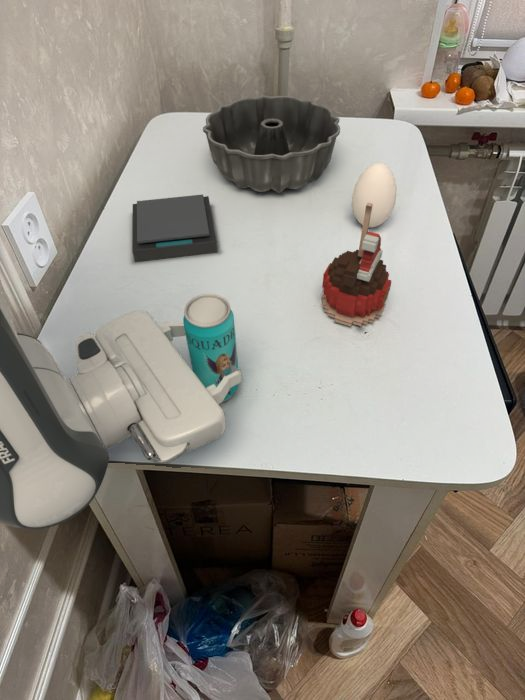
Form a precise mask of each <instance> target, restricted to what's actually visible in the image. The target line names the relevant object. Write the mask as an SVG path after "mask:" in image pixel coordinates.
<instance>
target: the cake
mask: <svg viewBox="0 0 525 700" xmlns="http://www.w3.org/2000/svg"><path fill="white" fill-rule="evenodd" d="M372 205H373V204H371V203H367V205H366V209H365V215H364V221H363V225H362V227H361V233H360V241H359V247H358V249H356V250H354V251H350V250H346V251H344V252H342V253H341V254H339V255H338V257H334V258H333V260H332V261H331V262H330V263H329V264H328V266H327V268H326V269H325V271H324V273H323V275H322V286H321V288H323V292H322V295H321V297H320V301H321V302H322V303H321V308H323V309H324V312H325V313H326V316H327V317H331V318H333V322H335V323H339V324H342V325H345V326H348V327H352V326H353V325H355V326H359V327H362V326H363V324H364V325H368V323H371V324H373V323H374V322H375V319H376V318H377V319H381V317H382V315H383V312H384V311H385V308H386V305H387V304H386V301H387V299H388V296H389V293H390V290H391V286H392V280H391V279H389V277H390V273H389V271H387V264H384V260H383V259H381V258H382V257H383V253H384V251H383V250H382V248H381V245H382V243H381V242H382V237H381V235H380V233H377V232H373V231H369V228H370V227H369V223H370V217H371V211H372Z"/></svg>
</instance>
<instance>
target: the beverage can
mask: <svg viewBox="0 0 525 700" xmlns="http://www.w3.org/2000/svg"><path fill="white" fill-rule="evenodd" d="M231 308H232V307H231V304H230V302H229V301H228V299H226V298H225V297H224V296H222V295H219V294H216V293H201V294H198V295H196V296H194V297H192V298H191V299H189V300H188V302H186V304H185V306H184V310H183V315H184V316H183V317H182V318H183V319H182V323H184V329H185V334H186V336H185V338H186V339H185V340H186V343H187V349H188V354H189V355H188V356H189V359H190V364H191V365H190V366H191V369H192V371H193V372H194V373H195V374H196V376H197V377H198V378H199V380H200V381H201V382H202V384H203V385H204V386H205V388H207V387H209V386H211V385H212V384H214V385H215V386H216V387H217V386H218V385H219V383H220V382H221V381H222V379H223V375H222V371H223V370H225V369H227V368H230V366H235V367H236V368H237V369H238V370H239V364H238V363H239V362H238V352H237V351H238V350H237V338H236V325H235V315H234V312H233V311H232V309H231ZM239 384H240V383H238V384H237V385H235V386H233V387H231V388H230V390H229V391H228V393H227V395H226V396H225V398H224V400H223V401H222V403H223V402H226V401H228V400H230V399H231V398H232V397H233V396H234V394H235V393H236V391H237V390H238V389H237V388H238V387H239Z"/></svg>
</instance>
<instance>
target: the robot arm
mask: <svg viewBox="0 0 525 700" xmlns="http://www.w3.org/2000/svg"><path fill="white" fill-rule="evenodd" d="M179 337H186V334H185V329H184V323H183V321H182V322H181V321H176V322H175V321H174V322H172V321H171V322H170V321H169V322H165V323H162V324H159V325H158V323H157V322H156V321H155V320H154V318H153V316H152V315H151V314H150V313H149V311H146V310H133V311H131V312H129V313H126V314H124V315H122V316H120V317H117V318H115V319H112V320H111V321H109V322H106V323H105V324H104V325H102V326H100V328H98V329H97V331H96V333H95V335H94V334H92V333H89V332H88V333H84V334H82V335H80V336H78V337H77V338H76V339H75V357H76V371H77V374H75V375H73V376H71V377H69V378H67V379H66V378H65V376H64V374H63V372H62V371H61V369H60V367H59V365H58V364H57V362H56V360H55V358H54V357H53V354H52V353H51V352H50V351H49V349H48V348H47V347H45V346H44V344H43V343H42V342H41V341H40V340H39V339H37V337H34V336H31V335H28V334H25V333H20V332H17V330H16V327H15V323H14V321H13V318H12V316H11V312H10V308H9V305H8V302H7V298H6V295H5V292H4V288H3V284H2V280H1V279H0V524H2V525H4V526H9V527H13V528H17V529H22V530H43V529H49V528H52V527H56V526H58V525H61V524H63V523H65V522H67V521H68V520H70V519H72V518H75V517H76V516H77V515H78V514H80V513H81V512H82V511H84V510H85V509H86V508H88V506H89V505H90V504H91V503H92V501H93V500H94V499H95V497H96V495H97V494H98V492H99V489H101V487H102V484H103V481H104V478H105V476H106V472H107V469H108V466H109V463H110V454H109V452H108V449H110V448H112V447H114V446H115V445H117V444H119V443H121V442H122V441H124V440H126V439H128V438H130V437H132V438H133V440H134V441H135V442H136V444H137V445H138V446H139V447H140V450H141V453H142V454H143V456H144V458H145V459H147V460H148V461H153V462H154V463H156V464H162V465H166V464H170V463H171V462H173V461H175V460H177V459H179V458H181V457H182V456H183V455H184V454H186V453H189V452H191V451H194V450H196V449H198V448H201V447H203V446H205V445H207V444H209V443H212V442H213V441H215V440H217V439H219V438H220V437H222V435H224V431H226V430H225V429H226V426H227V423H226V416H225V411H224V410H223V408H222V407H221V406H220V404H223V402H222V401H223V400H224V398H225V396H226V395H227V393H228V391H229V390H230V388H231V387H233V386H235V385H237V384H238V383H239V384H240V383H241V382H242V381H243V375H242V373H241V371H240V370H239V368H238V369H237V368H236V367H235V366H230V368H227V369H225V370H223V371H222V375H223V379H222V381H221V382H220V383H219V385H218V386H217V387H216V386H215V385H214V384H212V385H211V386H209V387H207V388H205V386H204V385H203V384H202V382H201V381H200V380H199V378H198V377H197V376H196V374H195V373H194V372H193V370H192V367H191V366H190V365H189V364H188V363H187V361H186V360H185V358H184V357H183V356H182V355H181V353H180V352H179V351H178V350H177V348H176V346H174V344H173V343H172V342H173V341H174V338H179ZM239 384H238V385H239ZM156 456H157V457H158V458H157V457H156Z"/></svg>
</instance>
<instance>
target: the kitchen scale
mask: <svg viewBox="0 0 525 700" xmlns="http://www.w3.org/2000/svg"><path fill="white" fill-rule="evenodd" d="M214 226H215V225H214V219H213V214H212V208H211V203H210V197H209V195H208V196H207V195H206V196H204V194H193V195H182V196H174V197H173V196H172V197H164V198H155V199H145V200H136V203H132V227H131V228H132V229H131V230H132V231H131V232H132V233H131V234H132V237H131V238H132V239H131V240H132V241H131V242H132V245H131V246H132V247H131V248H132V249H131V251H132V255H133V260H134V262H135V263H138V262H146V261H156V260H163V259H173V258H181V257H189V256H199V255H207V254H215V253H216V254H217V253H218V244H217V237H216V232H215V227H214Z"/></svg>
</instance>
